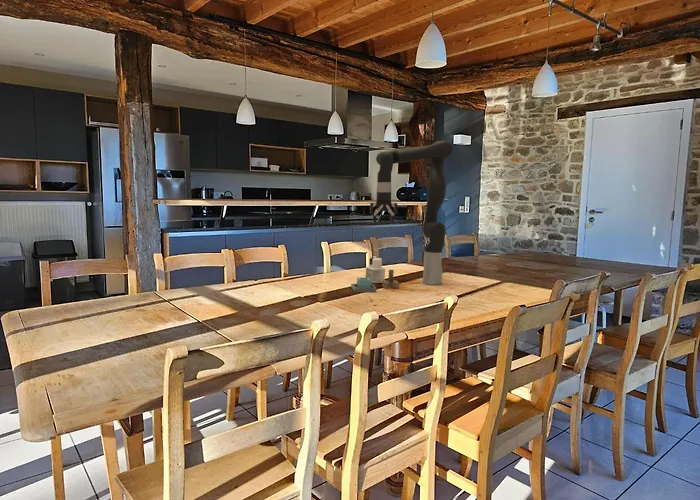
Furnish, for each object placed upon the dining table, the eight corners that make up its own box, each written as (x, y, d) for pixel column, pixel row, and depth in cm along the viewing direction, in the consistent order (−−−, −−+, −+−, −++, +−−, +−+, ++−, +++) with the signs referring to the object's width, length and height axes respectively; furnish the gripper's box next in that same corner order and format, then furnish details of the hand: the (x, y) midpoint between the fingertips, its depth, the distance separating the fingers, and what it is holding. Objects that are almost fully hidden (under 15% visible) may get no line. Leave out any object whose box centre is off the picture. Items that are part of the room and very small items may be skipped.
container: (365, 280, 260) (366, 256, 258) (377, 279, 263) (378, 256, 262) (371, 283, 253) (372, 259, 251) (384, 282, 256) (385, 258, 255)
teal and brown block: (395, 286, 248) (396, 268, 247) (398, 288, 241) (399, 271, 240) (382, 286, 247) (383, 268, 246) (385, 288, 240) (386, 271, 239)
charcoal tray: (371, 287, 243) (372, 283, 242) (376, 292, 232) (376, 288, 232) (351, 287, 241) (351, 283, 241) (354, 292, 231) (354, 288, 230)
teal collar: (370, 289, 234) (370, 279, 234) (358, 289, 233) (359, 279, 233) (368, 287, 240) (368, 277, 239) (356, 287, 239) (357, 277, 238)
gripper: (371, 191, 240) (371, 223, 242) (399, 191, 242) (398, 223, 244) (368, 191, 247) (368, 222, 249) (395, 191, 249) (394, 222, 251)
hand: (383, 223), depth 247 cm, fingers open, 8 cm apart
